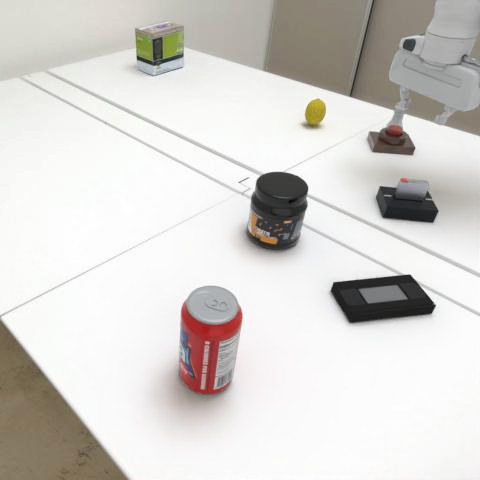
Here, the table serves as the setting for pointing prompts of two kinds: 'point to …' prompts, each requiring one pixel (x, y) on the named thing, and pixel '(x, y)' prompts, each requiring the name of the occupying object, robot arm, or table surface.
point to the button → (394, 130)
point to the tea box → (159, 47)
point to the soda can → (209, 339)
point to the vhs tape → (382, 298)
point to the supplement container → (277, 210)
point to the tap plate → (405, 206)
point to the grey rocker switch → (411, 189)
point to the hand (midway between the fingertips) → (420, 115)
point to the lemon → (315, 111)
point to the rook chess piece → (397, 116)
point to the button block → (390, 143)
